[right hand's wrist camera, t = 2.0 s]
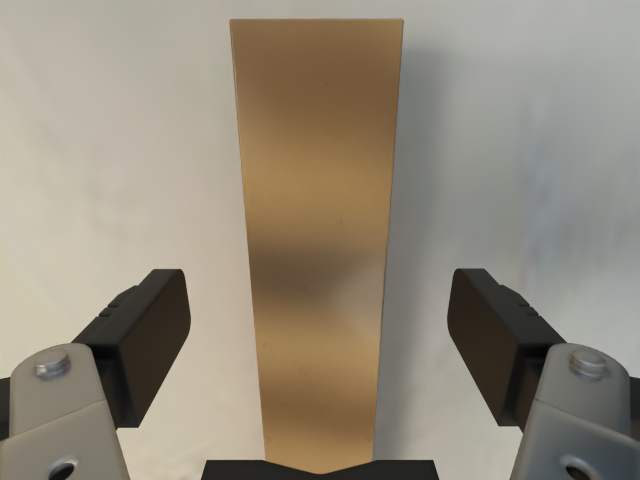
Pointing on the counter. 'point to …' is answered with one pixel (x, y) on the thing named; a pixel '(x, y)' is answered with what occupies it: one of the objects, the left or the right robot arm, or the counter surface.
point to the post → (317, 225)
